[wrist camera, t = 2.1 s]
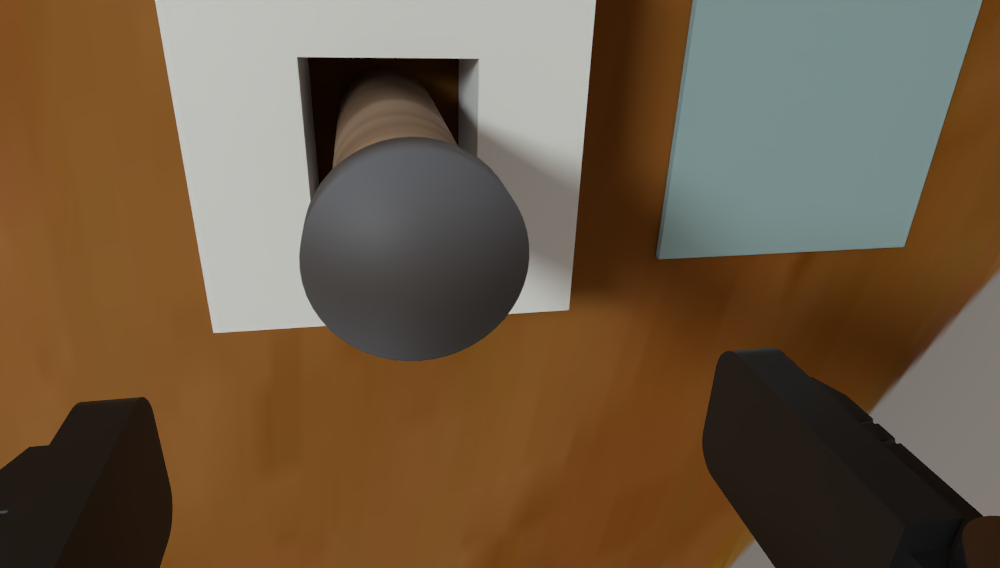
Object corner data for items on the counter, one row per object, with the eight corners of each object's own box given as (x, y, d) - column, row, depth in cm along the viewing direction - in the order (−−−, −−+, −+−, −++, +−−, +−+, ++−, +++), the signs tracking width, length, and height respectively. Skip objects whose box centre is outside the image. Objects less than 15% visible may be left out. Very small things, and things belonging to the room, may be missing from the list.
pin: (320, 53, 26) (287, 153, 13) (446, 55, 27) (535, 148, 14) (330, 176, 29) (310, 369, 15) (446, 173, 30) (523, 352, 16)
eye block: (178, -81, 24) (139, -90, 19) (560, -64, 26) (602, -68, 22) (234, 277, 30) (213, 332, 25) (539, 262, 32) (569, 309, 28)
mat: (701, -58, 27) (705, -58, 27) (989, -45, 30) (996, -45, 30) (655, 256, 34) (659, 259, 33) (898, 243, 36) (904, 246, 36)
